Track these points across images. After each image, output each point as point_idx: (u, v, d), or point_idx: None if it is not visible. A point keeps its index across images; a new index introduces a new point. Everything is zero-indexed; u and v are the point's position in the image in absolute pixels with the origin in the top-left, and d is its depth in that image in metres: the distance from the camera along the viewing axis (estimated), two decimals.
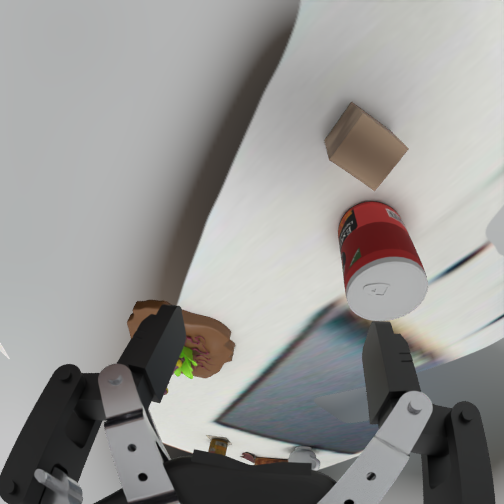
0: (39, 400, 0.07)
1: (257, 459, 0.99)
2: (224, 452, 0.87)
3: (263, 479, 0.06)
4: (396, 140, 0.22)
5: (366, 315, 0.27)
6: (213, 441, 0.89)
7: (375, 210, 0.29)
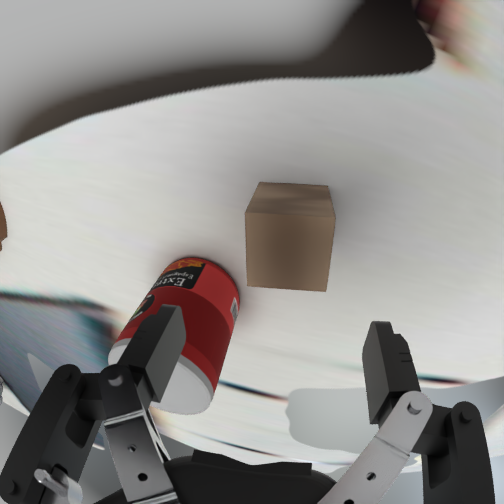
0: (39, 400, 0.07)
1: None
2: None
3: (263, 479, 0.06)
4: (326, 274, 0.18)
5: None
6: None
7: (223, 289, 0.24)
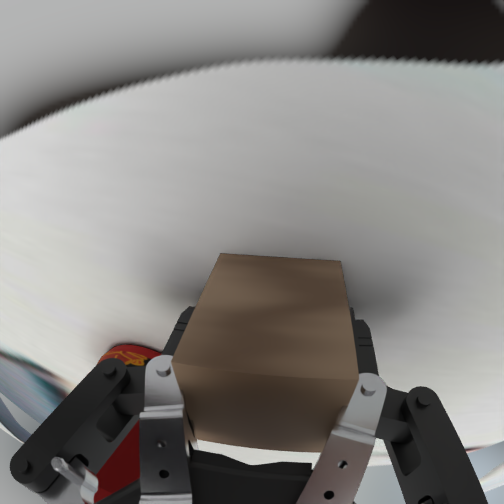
0: (76, 389, 0.08)
1: None
2: None
3: (263, 479, 0.06)
4: None
5: None
6: None
7: None
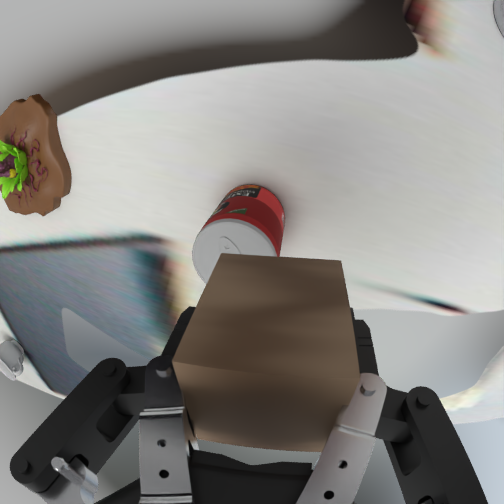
0: (76, 389, 0.08)
1: None
2: None
3: (263, 479, 0.06)
4: None
5: (197, 262, 0.27)
6: None
7: (276, 204, 0.32)
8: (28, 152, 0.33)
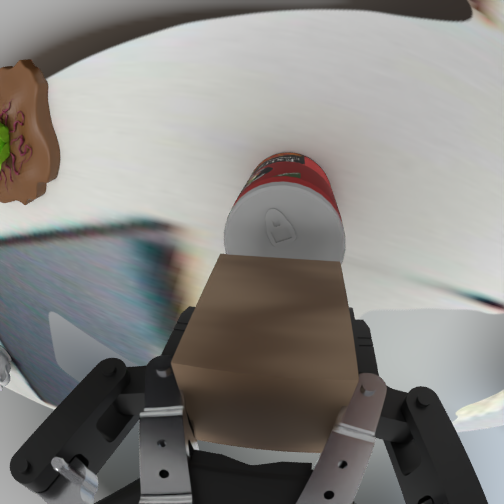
0: (76, 389, 0.08)
1: None
2: None
3: (263, 479, 0.06)
4: None
5: (231, 246, 0.19)
6: None
7: (325, 176, 0.24)
8: (11, 127, 0.25)
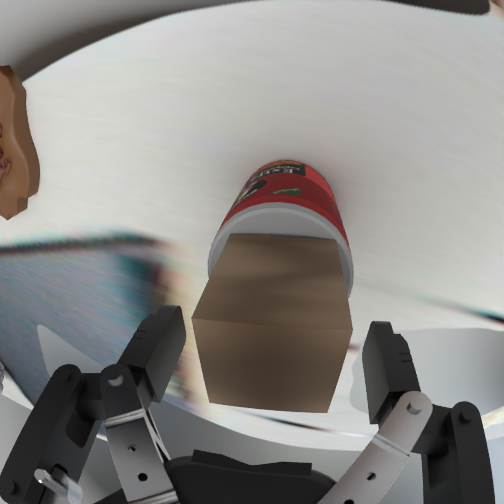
0: (39, 400, 0.07)
1: None
2: None
3: (263, 479, 0.06)
4: (329, 396, 0.10)
5: None
6: None
7: (329, 188, 0.21)
8: None
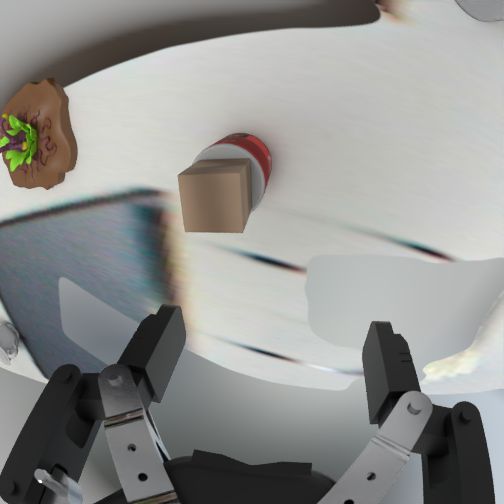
0: (39, 400, 0.07)
1: None
2: None
3: (263, 479, 0.06)
4: (240, 218, 0.24)
5: None
6: None
7: (263, 146, 0.35)
8: (39, 129, 0.36)
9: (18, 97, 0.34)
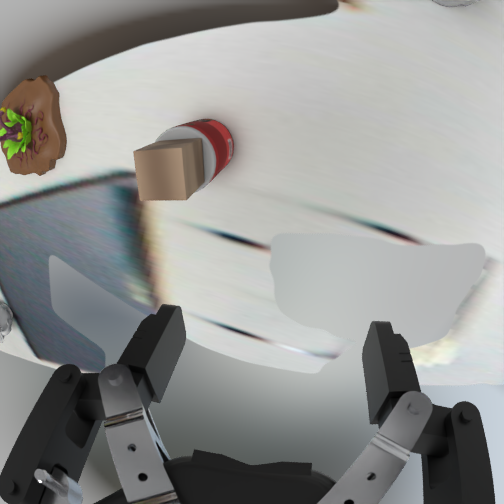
0: (39, 400, 0.07)
1: None
2: None
3: (263, 479, 0.06)
4: (183, 186, 0.27)
5: None
6: None
7: (224, 130, 0.38)
8: (33, 121, 0.39)
9: (15, 92, 0.37)
